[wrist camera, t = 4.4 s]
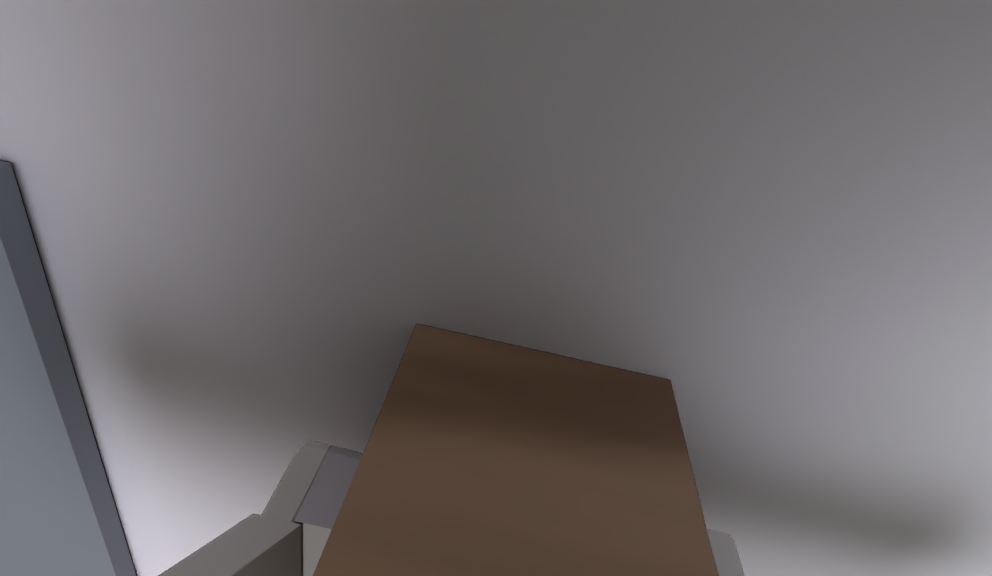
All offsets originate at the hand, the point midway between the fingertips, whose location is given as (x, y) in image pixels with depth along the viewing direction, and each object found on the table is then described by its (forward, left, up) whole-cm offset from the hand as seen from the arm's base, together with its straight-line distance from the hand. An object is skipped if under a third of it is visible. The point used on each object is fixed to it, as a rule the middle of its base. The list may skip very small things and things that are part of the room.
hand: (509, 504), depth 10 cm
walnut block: (0, 0, -2) cm, 2 cm away
